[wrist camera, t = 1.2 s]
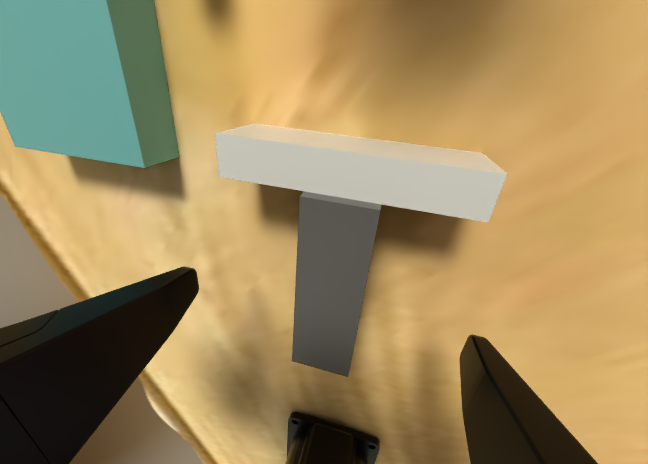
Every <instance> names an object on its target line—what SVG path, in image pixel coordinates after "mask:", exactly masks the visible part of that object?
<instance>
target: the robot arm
mask: <svg viewBox="0 0 648 464" xmlns="http://www.w3.org/2000/svg"><path fill="white" fill-rule="evenodd" d="M198 291H199V284H198V278H197V272H196V270H195V269H193V268H189V267H180V268H177V269H175V270H172V271H169V272H166V273H163V274H160V275H157V276H154V277H151V278H148V279H145V280H143V281H140V282H137V283H134V284H131V285H128V286H125V287H122V288H119V289H116V290H113V291H111V292H108V293H105V294H102V295H99V296H96V297H93V298H90V299H87V300H84V301H81V302H79V303H76V304H73V305H70V306H67V307H64V308H61V309H60V310H55V311H52V312H50V313H47V314H44V315H41V316H38V317H35V318H32V319H29V320H26V321H23V322H19V323H16V324H13V325H10V326H7V327H3V328H0V464H69V463H70V462H71V461H72V459H73V458H74V457H75V456H76V454H77V453H78V452H79V451H80V449H81V448H82V447H83V445H84V444H85V443H86V442H87V440H88V439H89V437H90V436H91V435H92V434H93V433H94V431H95V430H96V429H97V428H98V426H99V425H100V424H101V423H102V421H103V420H104V419H105V417H106V416H107V415H108V414H109V412H110V411H111V410H112V408H113V407H114V406H115V405H116V404H117V402H118V401H119V400H120V398H121V397H122V396H123V395H124V393H125V392H126V391H127V389H128V388H129V387H130V386H131V384H132V383H133V382H134V381H135V379H136V378H137V377H138V376H139V374H140V373H141V372H142V371H143V369H144V368H145V367H146V365H147V364H148V363H149V362H150V360H151V359H152V358H153V357H154V355H155V354H156V353H157V351H158V350H159V349H160V348H161V346H162V345H163V344H164V343H165V341H166V340H167V339H168V338H169V336H170V335H171V334H172V332H173V331H174V329H175V328H176V326H177V325H178V323H179V322H180V320H181V319H182V317H183V316H184V314H185V312H186V311H187V309H188V308H189V306H190V305H191V303H192V302H193V300H194V298H195V297H196V295H197V293H198ZM460 377H461V395H462V411H463V419H464V426H465V432H466V438H467V444H468V450H469V456H470V462H471V464H598V463H597V462H596V461H595V460H594V459H593V457H592V456H591V455H590V454H589V453H588V452H587V451H586V450H585V449H584V447H583V446H582V445H581V444H580V443H579V442H578V441H577V440H576V438H575V437H574V436H573V435H572V434H571V433H570V432H569V431H568V429H567V428H566V427H565V426H564V425H563V424H562V423H561V422H560V420H559V419H558V418H557V417H556V416H555V415H554V414H553V413H552V412H551V410H550V409H549V408H548V407H547V406H546V405H545V404H544V403H543V401H542V400H541V399H540V398H539V397H538V396H537V395H536V394H535V392H534V391H533V390H532V389H531V388H530V387H529V386H528V385H527V383H526V382H525V381H524V380H523V379H522V378H521V377H520V376H519V375H518V373H517V372H516V371H515V370H514V369H513V368H512V367H511V366H510V364H509V363H508V362H507V361H506V360H505V359H504V358H503V357H502V355H501V354H500V353H499V352H498V351H497V350H496V349H495V348H494V346H493V345H492V344H491V343H490V342H489V341H488V340H487V339H486V338H484V337H480V336H476V335H470V336H469V337H468V338H467V341H466V343H465V345H464V347H463V349H462V352H461V354H460ZM379 446H380V441H379V440H378V439H377V438H375V437H373V436H370V435H366V434H363V433H360V432H357V431H354V430H351V429H348V428H344V427H341V426H338V425H335V424H332V423H329V422H325V421H322V420H319V419H316V418H313V417H310V416H306V415H303V414H300V413H297V412H292V413H291V414H290V417H289V420H288V441H287V460H286V463H285V464H374V463H375V460H376V458H377V455H378V452H379Z"/></svg>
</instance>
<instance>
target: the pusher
mask: <svg viewBox="0 0 648 464" xmlns="http://www.w3.org/2000/svg"><path fill="white" fill-rule="evenodd" d="M215 141H216V152H217V162H218V173H219V177H223V178H229V179H235V180H240V181H246V182H252V183H258V184H264V185H270V186H276V187H282V188H288V189H294V190H299V191H304V192H303V193H302V194H301V195H300V200H299V221H298V243H297V265H296V287H295V308H294V330H293V352H292V361H294V362H297V363H301V364H304V365H308V366H311V367H315V368H318V369H322V370H325V371H329V372H333V373H336V374H340V375H343V376H347V377H348V375H349V370H350V365H351V360H352V355H353V349H354V344H355V339H356V334H357V329H358V324H359V319H360V313H361V308H362V303H363V298H364V293H365V288H366V283H367V277H368V272H369V267H370V262H371V257H372V252H373V247H374V241H375V236H376V231H377V226H378V221H379V216H380V210H381V205H388V206H394V207H400V208H406V209H411V210H417V211H423V212H429V213H435V214H441V215H447V216H453V217H459V218H465V219H470V220H476V221H482V222H489V219H490V217H491V214H492V212H493V209H494V207H495V204H496V202H497V199H498V197H499V194H500V192H501V189H502V187H503V184H504V182H505V179H506V177H507V173H506V172H505V171H503V170H502V169H501V168H500V167H499V166H497V165H496V164H495V163H494V162H493V161H492V160H490V159H489V158H488V157H487V156H486V155H484V154H483V153H480V152H473V151H465V150H457V149H449V148H442V147H434V146H426V145H419V144H411V143H403V142H395V141H388V140H380V139H372V138H364V137H357V136H349V135H341V134H334V133H326V132H318V131H310V130H303V129H295V128H287V127H279V126H272V125H264V124H256V123H254V124H250V125H246V126H242V127H238V128H233V129H229V130H225V131H221V132H217V133H215Z"/></svg>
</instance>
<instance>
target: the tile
mask: <svg viewBox="0 0 648 464" xmlns="http://www.w3.org/2000/svg"><path fill="white" fill-rule="evenodd" d="M0 112H1V115H2V117H3V119H4V122H5V124H6V126H7V129H8V131H9V133H10V135H11V138H12V140H13V142H14V145H15V147H21V148H27V149H33V150H39V151H45V152H51V153H57V154H63V155H69V156H75V157H81V158H87V159H93V160H99V161H105V162H111V163H117V164H123V165H129V166H135V167H141V168H146V167H150V166H153V165H156V164H159V163H162V162H165V161H168V160H172V159H175V158H178V157H179V151H178V145H177V139H176V133H175V127H174V121H173V115H172V108H171V102H170V96H169V90H168V84H167V78H166V72H165V65H164V59H163V53H162V47H161V41H160V35H159V29H158V22H157V16H156V10H155V4H154V0H0Z"/></svg>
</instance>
